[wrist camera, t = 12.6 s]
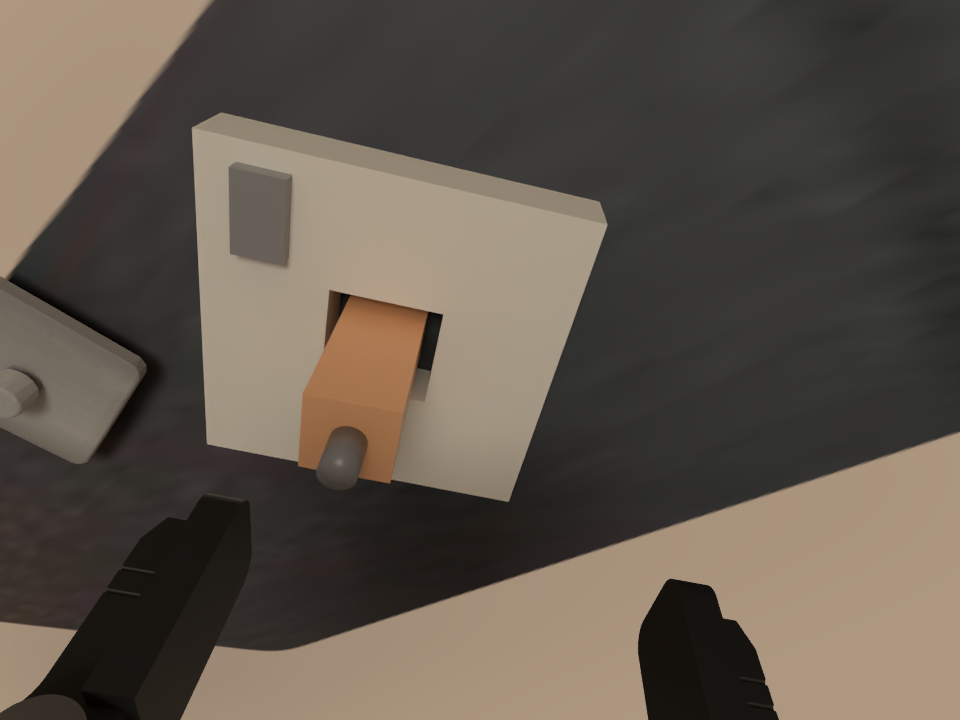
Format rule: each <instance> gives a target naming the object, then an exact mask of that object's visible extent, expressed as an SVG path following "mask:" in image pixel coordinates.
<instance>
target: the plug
mask: <svg viewBox="0 0 960 720" xmlns="http://www.w3.org/2000/svg"><path fill="white" fill-rule="evenodd" d="M428 313H429V311H425V310H420V309H415V308H411V307H406V306H401V305H397V304H392V303H388V302H383V301H378V300H374V299H369V298H364V297H360V296H355V295H350V297H349V300H348V302H347V304H346V306H345V308H344V310H343V312H342V314H341V316H340V318H339V320H338V322H337V324H336V326H335V328H334V330H333V332H332V334H331V337H330V339H329V341H328V343H327V345H326V347H325V349H324V351H323V353H322V355H321V357H320V359H319V361H318V363H317V365H316V367H315V369H314V371H313V374H312V376H311V378H310V380H309V382H308V384H307V386H306V388H305V390H304V392H303V396H302V411H301V427H300V443H299V459H298V466H299V467H305V468H310V469H315V470H316V476H317V478H318V480H319V481H320V482H321V483H322V484H323V485H324V486H326V487H328V488H330V489H334V490H347V489H350V488H352V487H353V486H354V485H355V484H356V482H357V479H358V478H363V479H369V480H374V481H379V482H385V483H390V482H391V478H392V473H393V469H394V465H395V461H396V457H397V452H398V448H399V444H400V440H401V435H402V431H403V427H404V423H405V418H406V414H407V410H408V406H409V401H410V397H411V393H412V389H413V385H414V380H415V376H416V372H417V368H418V363H419V359H420V354H421V349H422V344H423V339H424V334H425V329H426V323H427V318H428Z"/></svg>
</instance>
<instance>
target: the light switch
mask: <svg viewBox="0 0 960 720" xmlns="http://www.w3.org/2000/svg"><path fill="white" fill-rule="evenodd" d="M146 372H147V369H146V364H145V363H144V361H143V360H142V359H141V357H139V356H137V355H136V354H134V353H132V352H131V351H129V350H127V349H125V348H124V347H122V346H120V345H118V344H117V343H115V342H113V341H111V340H110V339H108V338H106V337H104V336H103V335H101V334H99V333H98V332H96V331H94V330H92V329H91V328H89V327H87V326H85V325H84V324H82V323H80V322H78V321H77V320H75V319H73V318H72V317H70V316H68V315H66V314H65V313H63V312H61V311H59V310H58V309H56V308H54V307H52V306H51V305H49V304H47V303H45V302H44V301H42V300H40V299H39V298H37V297H35V296H33V295H32V294H30V293H28V292H26V291H25V290H23V289H21V288H19V287H18V286H16V285H14V284H13V283H11V282H9V281H7V280H6V279H4V278H2V277H0V428H2V429H5V430H7V431H9V432H11V433H13V434H15V435H17V436H19V437H21V438H23V439H25V440H27V441H29V442H31V443H33V444H35V445H37V446H39V447H41V448H43V449H45V450H47V451H49V452H51V453H53V454H55V455H57V456H59V457H61V458H63V459H65V460H67V461H69V462H72V463H75V464H84V463H86V462H88V461H89V460H90V458H91V457H92V456H93V455H94V454H95V452H96V451H97V449H98V448H99V446H100V445H101V443H102V441H103V440H104V438H105V437H106V435H107V434H108V432H109V430H110V429H111V427H112V426H113V424H114V423H115V421H116V419H117V418H118V416H119V415H120V413H121V411H122V410H123V408H124V407H125V405H126V404H127V402H128V400H129V399H130V397H131V396H132V394H133V392H134V391H135V389H136V387H137V386H138V384H139V383H140V381H141V380H142V378H143V376H144V375H145V373H146Z"/></svg>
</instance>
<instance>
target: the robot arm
mask: <svg viewBox="0 0 960 720" xmlns="http://www.w3.org/2000/svg"><path fill="white" fill-rule="evenodd" d="M251 553H252V549H251V526H250V506H249V502H248V501H247V500H243V499H238V498H232V497H227V496H221V495H216V494H210V493H206V494H205V495H203V496H202V497H201V499H200V500H199V501H198V503H197V504H196V506H195V508H194V509H193V511H192V512H191V514H190V516H189V517H188V519H187V520H181V519H175V518H169V517H168V518H166V519H165V520H164V521H163V522H161V523H160V524H159V525H157V526H156V527H155V528H153V529H152V530H151V531H149V532H148V533H147V534H146V535H144V536H143V537H142V538H141V539H140V540H139V542H138V543H137V544H136V546H135V547H134V549H133V550H132V552H131V553H130V555H129V556H128V558H127V559H126V561H125V562H124V563H123V567H122V569H121V570H119V571H118V572H117V574H116V575H115V577H114V578H113V580H112V581H111V582H110V584H109V585H108V588H107V591H106V592H105V593H103V594H102V596H101V597H100V599H99V600H98V601H97V603H96V604H95V606H94V607H93V609H92V610H91V612H90V613H89V615H88V616H87V618H86V619H85V620H84V622H83V623H82V625H81V626H80V628H79V629H78V631H77V632H76V634H75V635H74V637H73V638H72V639H71V641H70V643H69V644H68V645H67V647H66V648H65V650H64V651H63V653H62V654H61V656H60V657H59V658H58V660H57V661H56V663H55V664H54V666H53V667H52V669H51V670H50V672H49V673H48V674H47V676H46V677H45V679H44V680H43V681H42V682H41V684H40V685H39V686H38V687H37V688H36V689H35V690H34V691H33V692H32V693H31V694H30V695H29V696H28V697H27V698H25V699H24V700H23V701H21V702H19V703H16V704H14V705H12V706H11V707H9V708H7V709H6V710H4V711H2V712H1V713H0V720H180V719H181V717H182V715H183V713H184V710H185V709H186V706H187V704H188V702H189V700H190V698H191V696H192V693H193V691H194V689H195V687H196V685H197V683H198V681H199V678H200V676H201V674H202V672H203V670H204V668H205V665H206V664H207V661H208V659H209V657H210V655H211V653H212V651H213V649H214V646H215V644H216V642H217V640H218V638H219V636H220V634H221V631H222V629H223V627H224V625H225V623H226V621H227V619H228V616H229V614H230V612H231V610H232V608H233V606H234V604H235V601H236V599H237V597H238V595H239V593H240V591H241V589H242V586H243V584H244V582H245V579H246V576H247V573H248V570H249V566H250V561H251ZM638 655H639V662H640V668H641V675H642V681H643V688H644V694H645V701H646V707H647V714H648V720H779V719H778V716H777V713H776V711H774V710H773V705H774V704H773V701H772V698H771V695H770V692H769V689H768V686H766V685H765V676H764V673H763V670H762V667H761V665H760V661H759V658H758V655H757V652H756V649H755V648H754V646H753V645H752V643H751V642H750V640H749V639H748V637H747V636H746V634H745V633H744V632H743V630H742V629H741V627H740V626H739V624H738V623H737V622H736V621H734V620H729V619H723V617H722V614H721V611H720V607H719V604H718V600H717V597H716V594H715V592H714V591H713V589H712V588H711V587H710V586H708V585H703V584H697V583H691V582H686V581H681V580H675V579H669V580H667V581H666V583H665V584H664V586H663V588H662V590H661V591H660V593H659V595H658V596H657V598H656V600H655V601H654V603H653V605H652V607H651V608H650V610H649V612H648V614H647V615H646V617H645V619H644V621H643V623H642V625H641V628H640V634H639V640H638Z"/></svg>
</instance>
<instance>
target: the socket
mask: <svg viewBox="0 0 960 720" xmlns="http://www.w3.org/2000/svg"><path fill="white" fill-rule="evenodd" d="M192 138H193V159H194V180H195V201H196V222H197V243H198V264H199V285H200V306H201V327H202V348H203V369H204V389H205V410H206V431H207V444H209V445H214V446H219V447H225V448H230V449H235V450H240V451H245V452H251V453H256V454H261V455H266V456H272V457H277V458H282V459H287V460H292V461H298V459H299V443H300V427H301V411H302V396H303V392H304V390H305V388H306V386H307V384H308V382H309V380H310V378H311V376H312V374H313V371H314V369H315V367H316V365H317V363H318V361H319V359H320V357H321V355H322V353H323V351H324V349H325V347H326V345H327V343H328V341H329V339H330V337H331V334H332V332H333V330H334V328H335V326H336V324H337V322H338V318H339V308H340V298H341V293H346V294H350V295H355V296H360V297H364V298H369V299H374V300H378V301H383V302H388V303H392V304H397V305H401V306H406V307H411V308H415V309H420V310H425V311H429V312H434V313H439V314H443V317H442V322H441V327H440V332H439V336H438V341H437V346H436V350H435V355H434V360H433V364H432V369H431V371H429V370H424V369H419V368H417V372H416V376H415V380H414V385H413V389H412V393H411V397H410V401H409V406H408V410H407V414H406V418H405V423H404V427H403V431H402V435H401V440H400V444H399V448H398V452H397V457H396V461H395V465H394V469H393V473H392V478H391V479H392V480H397V481H402V482H407V483H413V484H418V485H423V486H428V487H434V488H439V489H444V490H449V491H454V492H460V493H465V494H470V495H475V496H481V497H486V498H491V499H496V500H501V501H507V502H509V499H510V496H511V494H512V491H513V488H514V485H515V482H516V480H517V477H518V474H519V471H520V468H521V466H522V463H523V460H524V457H525V454H526V452H527V449H528V446H529V443H530V440H531V438H532V435H533V432H534V429H535V426H536V424H537V421H538V418H539V415H540V412H541V410H542V407H543V404H544V401H545V398H546V396H547V393H548V390H549V387H550V384H551V382H552V379H553V376H554V373H555V370H556V368H557V365H558V362H559V359H560V356H561V354H562V351H563V348H564V345H565V342H566V340H567V337H568V334H569V331H570V328H571V326H572V323H573V320H574V317H575V314H576V312H577V309H578V306H579V303H580V300H581V298H582V295H583V292H584V289H585V286H586V284H587V281H588V278H589V275H590V272H591V270H592V267H593V264H594V261H595V258H596V256H597V253H598V250H599V247H600V244H601V242H602V239H603V236H604V233H605V230H606V228H607V222H606V219H605V216H604V213H603V210H602V207H601V205H600V202H598V201H594V200H590V199H586V198H581V197H577V196H573V195H569V194H564V193H560V192H556V191H552V190H547V189H543V188H539V187H535V186H530V185H526V184H522V183H518V182H514V181H509V180H505V179H501V178H497V177H492V176H488V175H484V174H480V173H475V172H471V171H467V170H463V169H459V168H454V167H450V166H446V165H442V164H437V163H433V162H429V161H425V160H420V159H416V158H412V157H408V156H403V155H399V154H395V153H391V152H387V151H382V150H378V149H374V148H370V147H365V146H361V145H357V144H353V143H348V142H344V141H340V140H336V139H332V138H327V137H323V136H319V135H315V134H310V133H306V132H302V131H298V130H293V129H289V128H285V127H281V126H276V125H272V124H268V123H264V122H260V121H255V120H251V119H247V118H243V117H238V116H234V115H230V114H226V113H219V114H217V115H216V116H214V117H212V118H210V119H208V120H206V121H204V122H202V123H200V124H198V125H196V126H194V127H192Z"/></svg>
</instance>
